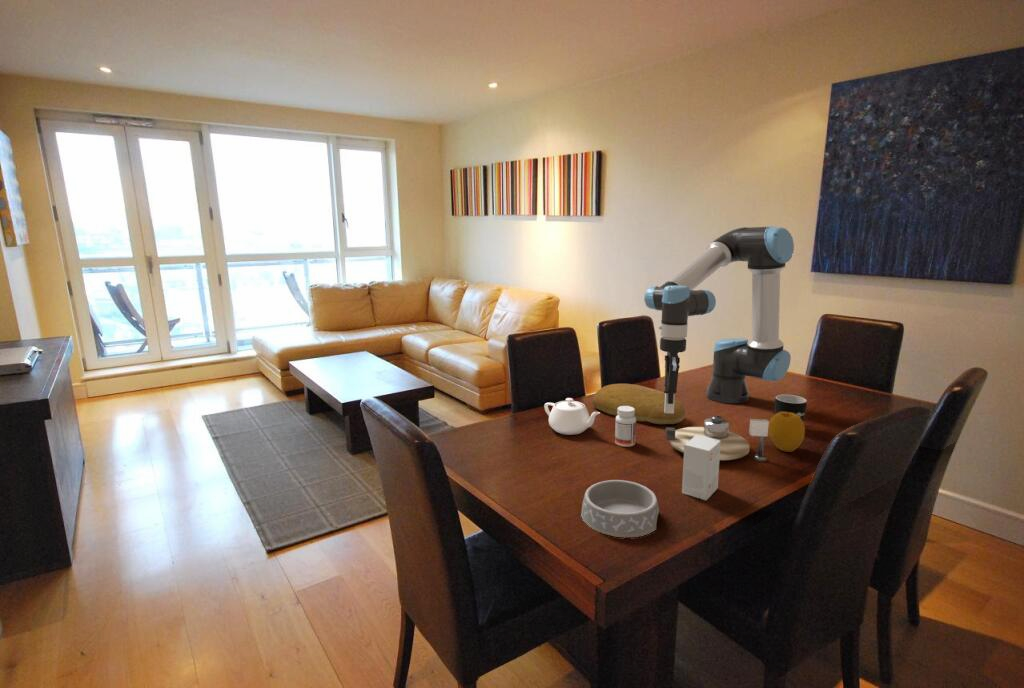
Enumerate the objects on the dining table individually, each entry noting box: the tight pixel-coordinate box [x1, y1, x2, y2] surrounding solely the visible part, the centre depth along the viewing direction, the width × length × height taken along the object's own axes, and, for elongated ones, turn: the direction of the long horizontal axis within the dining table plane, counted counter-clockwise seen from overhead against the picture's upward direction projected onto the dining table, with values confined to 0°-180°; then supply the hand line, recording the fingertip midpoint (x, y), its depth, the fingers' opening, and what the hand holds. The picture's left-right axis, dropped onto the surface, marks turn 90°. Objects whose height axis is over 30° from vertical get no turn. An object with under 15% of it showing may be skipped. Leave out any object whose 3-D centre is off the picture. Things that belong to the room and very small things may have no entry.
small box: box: [681, 435, 721, 501], centre depth 128 cm, size 8×6×13 cm
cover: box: [703, 415, 730, 439], centre depth 157 cm, size 7×7×6 cm
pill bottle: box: [614, 406, 637, 448], centre depth 158 cm, size 6×6×11 cm
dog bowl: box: [580, 479, 660, 539], centre depth 119 cm, size 17×18×5 cm
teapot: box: [543, 397, 601, 436], centre depth 170 cm, size 22×14×11 cm, turn 48°
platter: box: [665, 426, 751, 461], centre depth 153 cm, size 22×23×4 cm
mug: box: [774, 394, 808, 422], centre depth 169 cm, size 12×9×10 cm
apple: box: [768, 411, 806, 453], centre depth 152 cm, size 10×10×12 cm
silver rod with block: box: [748, 418, 770, 463], centre depth 145 cm, size 3×5×12 cm, turn 81°
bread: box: [591, 383, 686, 425], centre depth 185 cm, size 18×35×10 cm, turn 48°
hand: (669, 412), depth 160 cm, fingers closed
